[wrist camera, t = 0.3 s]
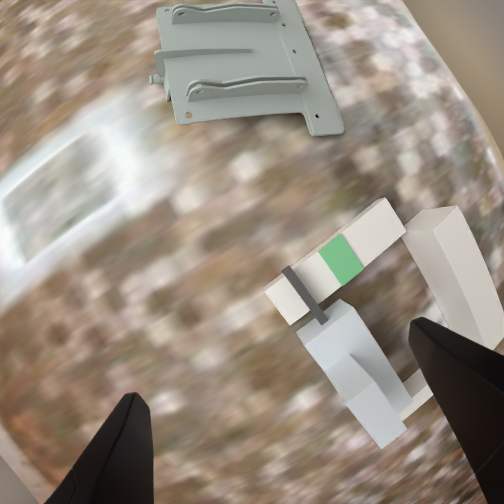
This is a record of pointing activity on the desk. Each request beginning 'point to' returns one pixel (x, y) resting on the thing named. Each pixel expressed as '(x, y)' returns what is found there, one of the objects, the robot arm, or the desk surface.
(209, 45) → the metal bracket
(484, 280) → the gauge housing
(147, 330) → the desk surface
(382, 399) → the gauge plunger
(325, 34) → the desk surface
